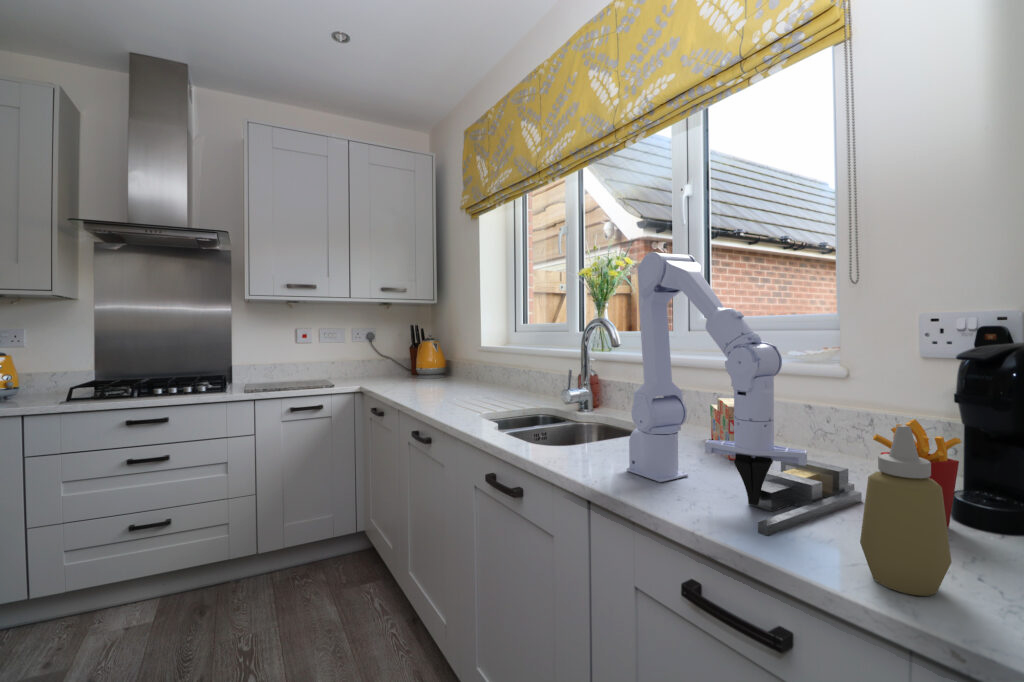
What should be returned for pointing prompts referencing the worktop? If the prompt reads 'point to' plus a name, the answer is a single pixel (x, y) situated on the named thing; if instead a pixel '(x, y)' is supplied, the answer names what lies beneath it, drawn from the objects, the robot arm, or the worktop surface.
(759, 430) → the robot arm
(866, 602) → the worktop surface
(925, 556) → the squeeze bottle
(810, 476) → the brass block
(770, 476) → the sliding jaw
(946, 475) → the french fries
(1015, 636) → the worktop surface
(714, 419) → the stack of blocks
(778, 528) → the vise
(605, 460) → the worktop surface
